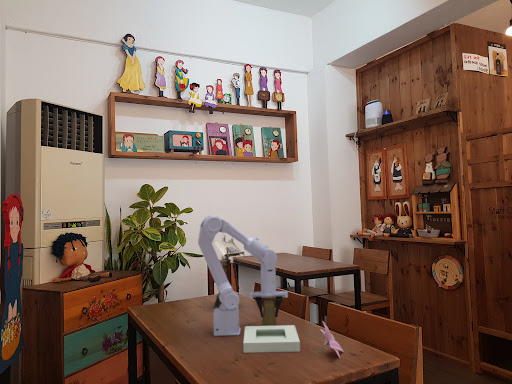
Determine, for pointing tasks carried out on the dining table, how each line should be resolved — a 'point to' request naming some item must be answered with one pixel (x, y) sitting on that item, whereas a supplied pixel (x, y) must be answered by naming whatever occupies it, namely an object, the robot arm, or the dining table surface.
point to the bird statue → (226, 258)
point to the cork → (269, 313)
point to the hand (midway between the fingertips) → (269, 316)
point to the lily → (330, 340)
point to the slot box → (271, 339)
